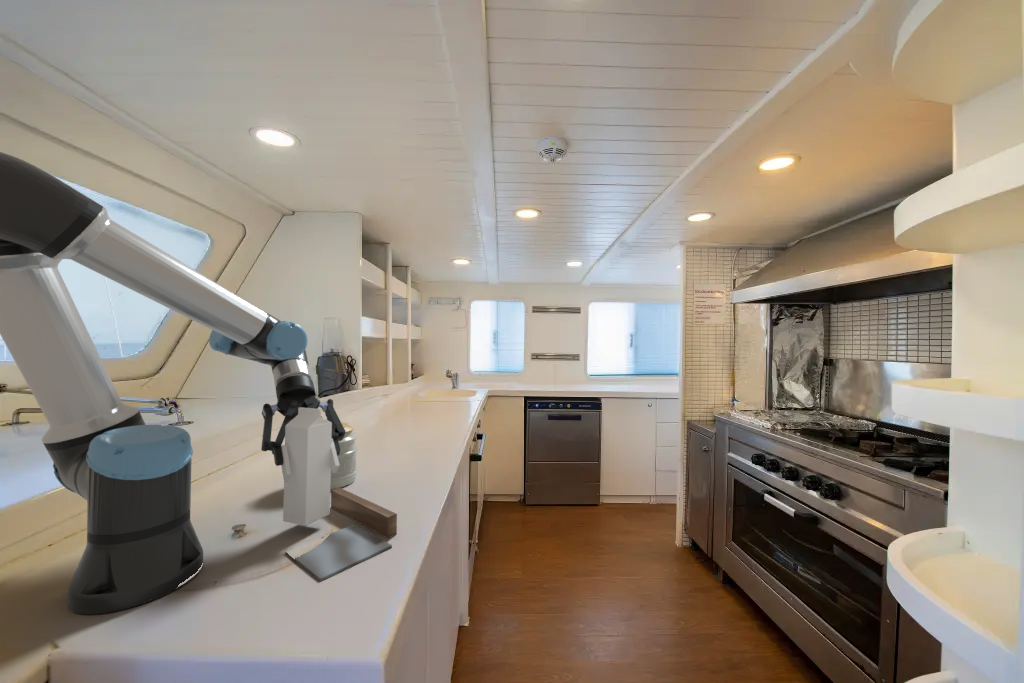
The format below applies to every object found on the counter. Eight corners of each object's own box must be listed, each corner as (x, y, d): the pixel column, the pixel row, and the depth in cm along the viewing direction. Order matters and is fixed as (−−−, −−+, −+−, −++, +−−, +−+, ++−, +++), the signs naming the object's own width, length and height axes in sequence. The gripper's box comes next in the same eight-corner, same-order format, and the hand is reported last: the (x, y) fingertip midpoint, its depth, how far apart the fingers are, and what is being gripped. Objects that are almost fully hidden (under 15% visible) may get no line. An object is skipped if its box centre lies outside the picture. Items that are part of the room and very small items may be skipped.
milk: (305, 526, 74) (308, 411, 75) (282, 521, 76) (284, 409, 77) (330, 513, 80) (332, 407, 80) (308, 509, 82) (310, 405, 82)
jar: (355, 471, 113) (355, 411, 113) (358, 486, 101) (358, 418, 101) (304, 478, 107) (305, 414, 107) (301, 494, 96) (302, 422, 96)
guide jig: (320, 581, 61) (320, 555, 61) (258, 531, 77) (258, 511, 77) (407, 539, 74) (407, 518, 74) (339, 504, 90) (339, 487, 90)
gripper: (338, 392, 97) (360, 473, 85) (236, 398, 83) (246, 496, 71) (345, 372, 93) (371, 453, 81) (240, 375, 79) (251, 474, 67)
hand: (312, 473), depth 76 cm, fingers closed on milk, 8 cm apart
